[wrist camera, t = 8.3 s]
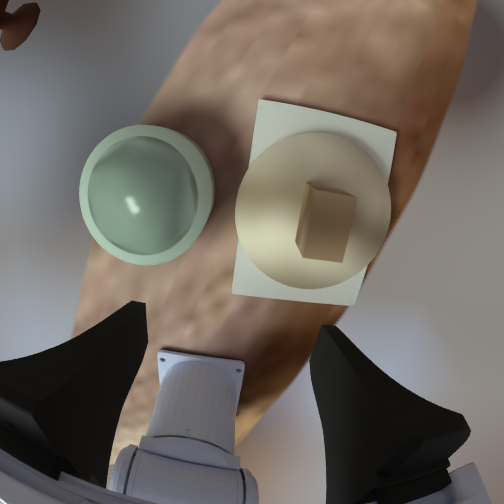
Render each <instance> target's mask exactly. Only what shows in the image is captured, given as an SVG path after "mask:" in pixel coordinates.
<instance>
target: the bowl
mask: <svg viewBox="0 0 504 504" xmlns="http://www.w3.org/2000/svg"><path fill="white" fill-rule="evenodd" d="M215 189H216V187H215V178H214V173H213V169H212V167H211V164H210V162H209V160H208V158H207V156H206V154H205V153H204V152H203V150H202V149H201V148H200V147H199V145H198V144H197V143H196V142H194V141H193V140H192V139H191V138H190V137H188V136H186V135H185V134H183V133H181V132H178V131H176V130H173V129H169V128H165V127H159V126H154V125H134V126H129V127H125V128H122V129H120V130H117V131H116V132H114V133H112V134H110V135H109V136H108V137H106V138H105V139H104V140H103V141H101V142H100V143H99V144H98V145H97V146H96V148H95V149H94V150H93V151H92V153H91V155H90V156H89V158H88V160H87V162H86V164H85V166H84V169H83V172H82V175H81V181H80V190H79V198H80V206H81V211H82V215H83V218H84V221H85V223H86V225H87V227H88V229H89V231H90V233H91V234H92V236H93V237H94V238H95V240H96V241H97V242H98V243H99V244H100V245H101V246H102V247H103V248H104V249H105V250H106V251H107V252H109V253H110V254H112V255H113V256H115V257H117V258H119V259H121V260H123V261H126V262H129V263H132V264H137V265H156V264H161V263H164V262H167V261H170V260H172V259H174V258H176V257H178V256H179V255H181V254H182V253H184V252H185V251H186V250H187V249H188V248H189V247H191V245H192V244H193V243H194V242H195V241H196V239H197V238H198V236H199V235H200V233H201V231H202V229H203V228H204V226H205V224H206V222H207V220H208V218H209V216H210V214H211V211H212V208H213V205H214V200H215Z"/></svg>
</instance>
